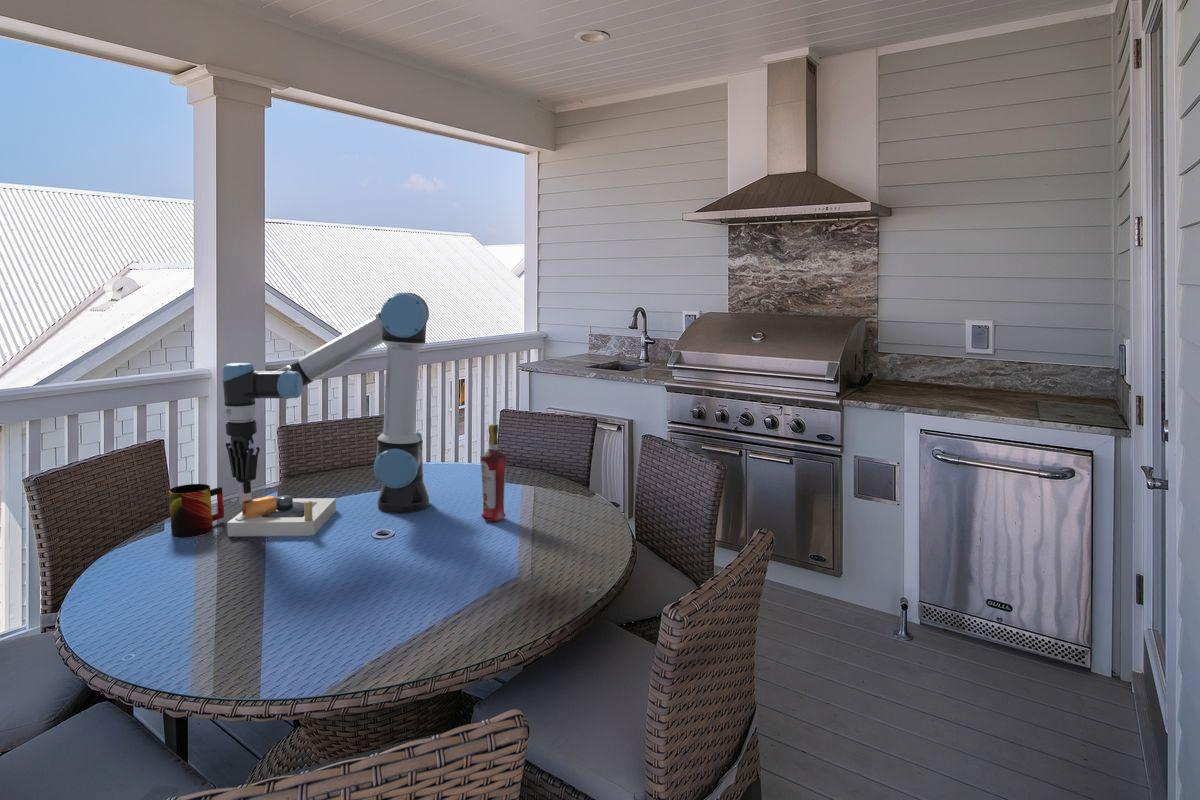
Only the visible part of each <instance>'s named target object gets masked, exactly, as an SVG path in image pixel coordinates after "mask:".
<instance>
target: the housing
mask: <svg viewBox="0 0 1200 800" xmlns="http://www.w3.org/2000/svg"><path fill="white" fill-rule="evenodd" d="M293 502H302V503H304V516H303V517H283V518H261V515H257V516H253V517H248V518H246V517H244V516H243V513H242V511H241V512H239V513H238V514H237V515H236V516H234V517H233V518H232V519H230V520H229V521H227V522H226V524H227V525H226V526H227V527H226V528H227V537H291V536H292V537H299V536H300V537H301V536H302V537H303V536H304V537H305V536H306V537H307V536H308V537H309V536H311V535H312V536H315V535H316V534H317V533H318V532H319V531H320V529H321V528H322V527H323V526H324V525H326V522H328V520H329V519H330V518H331V517H332V516H333V515H334V514H335V513H336V512H337V498H336V497H335V498H333V497H331V498H327V497H325V498H322V497H319V498H318V497H317V498H315V497H314V498H313V497H311V498H309V497H307V498H294V497H293Z"/></svg>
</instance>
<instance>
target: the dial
mask: <svg viewBox="0 0 1200 800" xmlns="http://www.w3.org/2000/svg"><path fill="white" fill-rule="evenodd" d="M293 498H294V497H293V496H292V495H280V496H277V497H275V496H273V495H267V496H262V497H258V498H254V499H253V498H251V500H247V501H242V505H241V510H242V511H241V512H242V513H243V516H244V517H246V518H248V517H253V516H257V515H261V518H283V517H303V516H304V503H302V502H293Z"/></svg>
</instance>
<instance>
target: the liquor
mask: <svg viewBox="0 0 1200 800" xmlns="http://www.w3.org/2000/svg"><path fill="white" fill-rule="evenodd" d="M498 434H499V425H498V424H496V423H492V424H491V423H490V424H488V436H489V437H488V447H487V449H488V450H487V451H486V452H484V453H483V454H482V455H481V456H480V473H481V474H480V475H481V476H480V477H481V490H482V492H481V493H482V511H483V512H482V514H481V518H483V520H485V521H486V522H487V521H488V523H500V522H501V521H502V520H503V519H504V518H505V517H506V513H505V487H506V486H505V485H506V473H507V471H506V469H507V455H506V454H504V452H502V451H499V442H498Z"/></svg>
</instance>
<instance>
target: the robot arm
mask: <svg viewBox="0 0 1200 800" xmlns="http://www.w3.org/2000/svg"><path fill="white" fill-rule="evenodd" d="M429 315H430V310H429V306H428V304H427V302H426V301H425V300H424V298H422V297H421V296H420V295H418V294H416V293H413V292H397V293H395V294H392V295H391V296H389V297H388V298H387V299H386V300H385V301H384V303H383V305H382V307H381V309H378V310H377V311H376V313H375V316H373V317H372V318H370V319H368V320H367V321H365V322H363V323H361V324H360V325H357V326H356V327H354V328H352V329H350V330H348V331H347V332H344V333H343V334H341V335H339V336H338V337H336V338H334V339H332V340H331V341H329V342H326V343H325V344H323V345H321V346H319V347H318V348H316V349H315V350H313V351H310V352H309V353H307V354H305V355H304V356H301V357H300V358H299V359H297V360H295V361H293V362H291V363H289V364H287V365H285V366H283V367H281V368H279V369H277V370H255V368H254V367H255V366H254V365H253V364H252V363H251V362H250V363H249V362H232V363H231V362H230V363H227V364H225V365H224V366H223V367H222V368H223V369H222V385H223V386H222V387H223V400H224V410H223V412H224V415H225V420H226V422H225V435H227V436H230V441H229V442H226V443H225V447H226V450H227V453H228V458H229V465H230V470H231V476H232V478H235V479H236V481H237V488H238V489H237V490H238V505H240V506H242V501H247V500H252V483H251V482H252V481H254V480H256V478H257V469H258V459H259V457H258V456H259V453H260V451H261V450H260V447H259V446H257V447H256V446H255V445H254V439H253V436H254V435H256V434H257V432H258V426H257V420H256V418H257V411H256V410H257V409H256V406H257V405H256V399H284V400H289V399H297V398H300V397H301V395H302V393H303V390H304V389H303V388H304V387H307V386H308V385H310V384H311V383H313V382H314V381H316V380H318V379H320V378H321V377H324V376H326V375H327V374H329V373H331V372H333V371H334V370H336V369H338V368H340V367H341V366H343V365H346V364H347V363H349V362H351V361H352V360H354V359H356V358H358V357H360V356H361V355H363V354H365V353H367V352H369V351H371V350H372V349H374V348H375V347H377V346H378V347H379V345H381V344H384V345H385V346H386V348H387V349H386V350H387V351H386V368H385V369H386V370H385V389H384V407H383V429H382V433H381V434H380V435H379V436H377V439H376V440H377V441H376V457H375V460H374V462H373V473H374V476H375V478H376V479H377V481H378V482H379V483H380V484H382V486H381V489H380V493H379V496H378V500H377V508H378V510H380V511H382V512H384V513H388V514H389V513H391V514H407V513H408V514H409V513H413V512H420V511H422V510H425V509H427V508H428V507H430V496H429V493H428V491H427V488H426V486H425V483H424V482H425V481H424V478H423V477H424V469H423V467H424V466H423V461H424V460H423V443H424V442H423V435H422V433H420V432H419V431H416V414H417V398H418V382H419V381H418V378H419V358H420V349H421V348H422V347H423V346H424V345H426V339H427V338H426V336H427V335H426V334H427V333H426V332H427V323H428V321H429Z"/></svg>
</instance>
